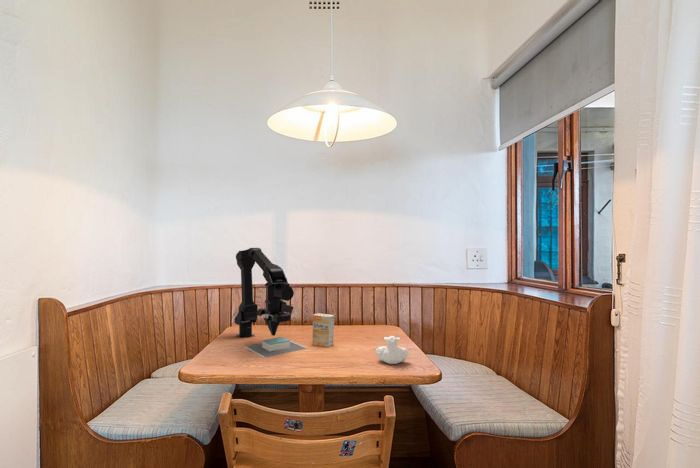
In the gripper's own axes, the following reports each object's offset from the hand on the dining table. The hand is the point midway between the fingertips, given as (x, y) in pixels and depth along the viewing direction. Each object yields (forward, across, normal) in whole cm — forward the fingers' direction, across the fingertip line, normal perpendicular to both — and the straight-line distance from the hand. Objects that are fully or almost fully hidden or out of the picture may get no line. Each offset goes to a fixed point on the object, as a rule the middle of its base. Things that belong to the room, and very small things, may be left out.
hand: (273, 335), depth 156 cm
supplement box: (+5, -10, -18) cm, 21 cm away
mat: (+5, -2, 0) cm, 5 cm away
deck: (+3, +1, 0) cm, 3 cm away
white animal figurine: (+5, -44, -25) cm, 51 cm away
